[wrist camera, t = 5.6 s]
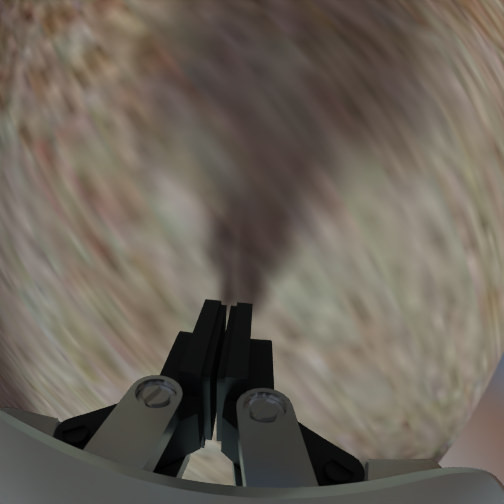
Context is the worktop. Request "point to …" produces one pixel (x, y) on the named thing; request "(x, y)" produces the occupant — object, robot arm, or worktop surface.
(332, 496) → the robot arm
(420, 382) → the worktop surface
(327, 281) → the worktop surface
